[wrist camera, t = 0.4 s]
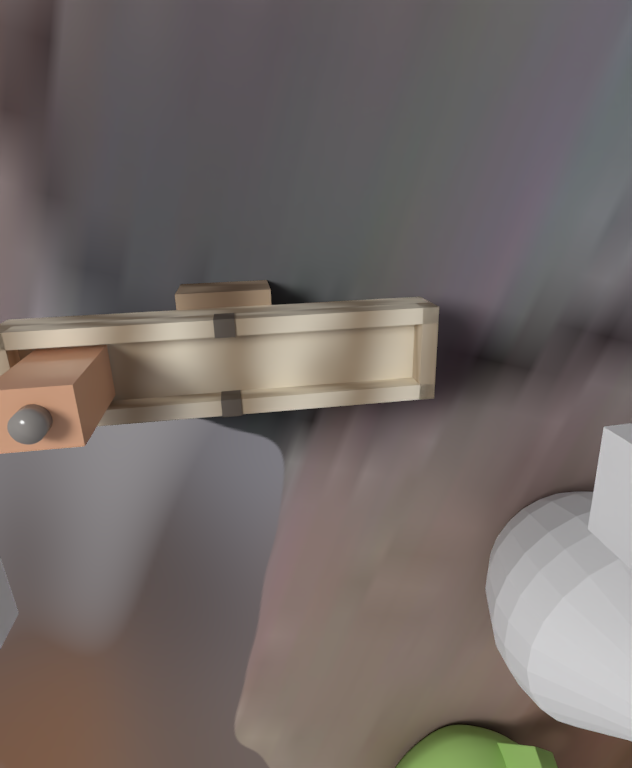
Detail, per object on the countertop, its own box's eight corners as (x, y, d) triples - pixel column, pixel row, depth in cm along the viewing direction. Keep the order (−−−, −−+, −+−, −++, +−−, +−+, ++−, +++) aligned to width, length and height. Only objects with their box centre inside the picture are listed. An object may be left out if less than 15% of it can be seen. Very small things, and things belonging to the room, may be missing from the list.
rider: (46, 400, 31) (-13, 463, 24) (35, 349, 30) (-31, 399, 22) (115, 394, 32) (79, 455, 24) (106, 344, 30) (65, 392, 23)
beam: (53, 402, 37) (10, 449, 30) (28, 291, 34) (-24, 316, 27) (398, 375, 41) (433, 412, 34) (402, 273, 38) (440, 290, 31)
